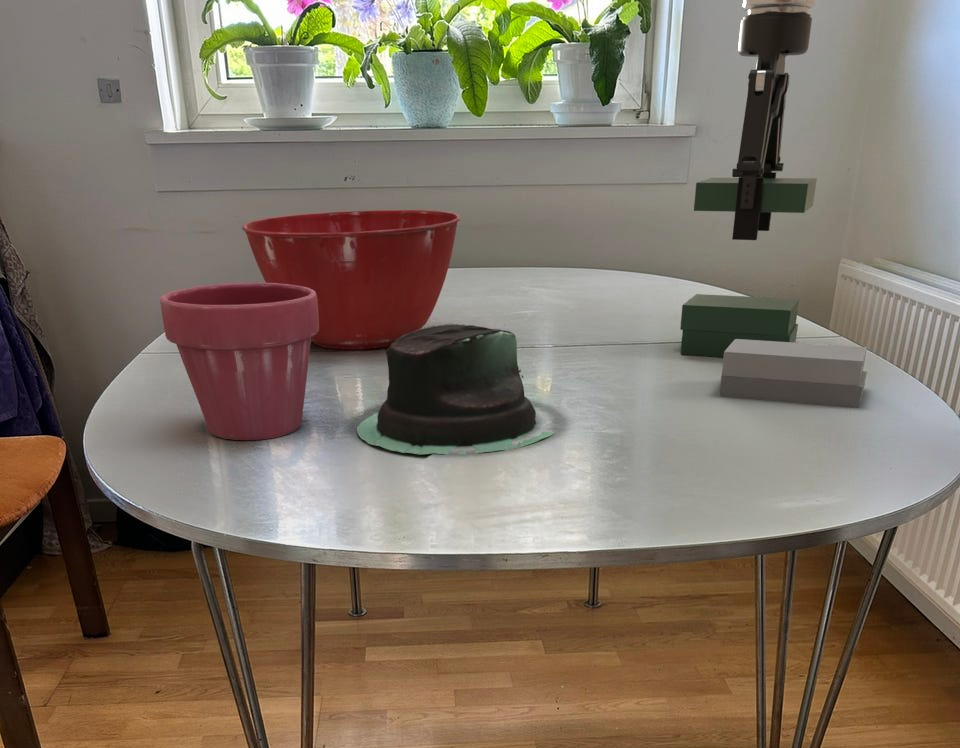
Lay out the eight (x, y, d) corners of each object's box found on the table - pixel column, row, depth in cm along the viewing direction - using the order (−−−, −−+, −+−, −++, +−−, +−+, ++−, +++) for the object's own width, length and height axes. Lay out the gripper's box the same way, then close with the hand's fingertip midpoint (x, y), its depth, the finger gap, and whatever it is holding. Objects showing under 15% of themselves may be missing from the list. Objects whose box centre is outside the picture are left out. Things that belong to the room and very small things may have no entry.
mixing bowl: (255, 369, 116) (238, 233, 109) (257, 325, 141) (243, 212, 133) (480, 355, 121) (478, 224, 113) (444, 315, 145) (440, 205, 138)
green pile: (794, 347, 122) (801, 299, 119) (786, 361, 115) (793, 310, 112) (691, 341, 127) (696, 294, 124) (678, 354, 120) (682, 304, 117)
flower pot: (337, 407, 100) (325, 279, 94) (317, 447, 88) (302, 304, 82) (203, 409, 100) (182, 282, 94) (164, 450, 88) (138, 307, 82)
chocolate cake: (432, 381, 105) (597, 407, 97) (350, 504, 98) (522, 544, 89) (390, 264, 93) (575, 282, 85) (293, 393, 86) (486, 427, 77)
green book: (812, 205, 114) (816, 178, 113) (804, 212, 107) (808, 183, 105) (709, 204, 119) (711, 177, 117) (693, 210, 111) (696, 182, 110)
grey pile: (862, 394, 101) (871, 347, 99) (858, 411, 96) (867, 361, 93) (730, 384, 106) (735, 338, 104) (718, 399, 100) (723, 351, 98)
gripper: (757, 22, 113) (735, 224, 124) (724, 6, 96) (702, 244, 106) (822, 19, 111) (794, 226, 122) (801, 2, 93) (770, 246, 104)
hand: (751, 234), depth 114 cm, fingers closed on green book, 9 cm apart
